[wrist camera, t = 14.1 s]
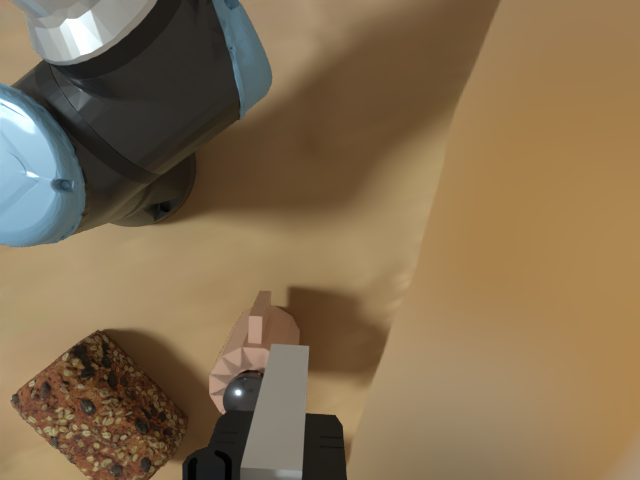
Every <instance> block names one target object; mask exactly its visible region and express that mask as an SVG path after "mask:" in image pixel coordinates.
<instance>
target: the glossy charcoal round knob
mask: <svg viewBox="0 0 640 480" xmlns="http://www.w3.org/2000/svg"><path fill="white" fill-rule="evenodd" d="M262 380H263V376H262V372H260V371H258V370H250V373H242V374H239V375H237V376H235V377H234V378H232V379H231V380H230V382H229V383H228V385H227V387H226V390H225V392H224V395H223V406H224V409H225V411H228V410H240V411H255V408H256V404H257V400H258V396H259V392H260V388H261V384H262Z"/></svg>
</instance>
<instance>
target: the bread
mask: <svg viewBox="0 0 640 480" xmlns="http://www.w3.org/2000/svg"><path fill="white" fill-rule="evenodd" d="M11 404H12V406H13V407H14V409H15V410H16V411H17V412H18V413H19V415H20V416H21V417H22V419H23V420H24V421H25V422H26V423H29V424H30V425H31V426H32V427H33V428H34V430H35V431H36V432H37V433H39V435H40V436H41V437H43V438H45V440H46V441H48V443H49V444H50V445H51V446H52V447H54V448H56V449H58V450H59V451H60V453H61V454H62V455H64V456H65V457H66V458H67V459H68V460H69V461H70V462H71V463H73V464H75V465H76V466H77V467H78V469H79V470H80V471H81V472H82V473H83V474H84V475H85V476H86V477H87V478H88V479H90V480H149V479H150V478H151V477H152V476H153V475H154V474H155V473H156V471H158V470H159V469H160V467H162V466H165V465H166V463H167V461H168V460H170V459H171V458H172V457H173V456H174V455H175V453H176V452H177V450H178V447H179V446H180V444H181V440H182V439H183V436H184V434H185V433H186V430H187V424H188V419H187V416H186V415H185V414H184V413H183V412H182V411H180V410H179V408H178V407H177V406H176V405H175V404H174V403H173V402H172V400H171V399H170V398H169V397H167V396H165V393H164V392H163V391H162V389H161V388H160V387H158V386H156V385H155V383H154V382H152V380H151V379H150V378H149V377H148V376H147V375H146V373H145V372H144V371H142V370H141V369H140V368H139V366H138V365H136V364H133V362H132V360H131V358H130V357H129V356H128V355H127V354H126V353H125V352H124V351H123V350H122V349H121V348H120V347H119V346H117V345H116V344H115V342H114V341H112V340H111V339H108V338H107V337H106V336H105V334H104V333H103V332H101V331H99V330H97V331H95V332H94V333H92V334H91V335H89V336H87V337H86V338H84V339H83V340H81V341H80V342H78V343H77V344H76V345H74V346H73V347H72V348H70V349H69V350H68V351H66V352H65V353H64V354H62V355H61V356H60V357H59V358H58V359H56V360H55V361H54V362H53V363H52V364H50V365H49V366H48V367H46V368H45V369H44V370H43V371H41V372H40V373H39V374H37V375H36V376H35V377H34V378H33V379H31V380H30V381H29V382H27V383H26V384H25V385H24V386H22V387H21V388H20V389H19V390H18V391H17V393H16V394H14V395H13V396H12V400H11Z"/></svg>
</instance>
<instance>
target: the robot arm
mask: <svg viewBox="0 0 640 480" xmlns="http://www.w3.org/2000/svg"><path fill="white" fill-rule="evenodd" d="M9 1H10V2H12V3H13V4H14V5H15V6H17V7H18V8H19V9H20V10H21V11H23V13H24V15H25V18H26V23H27V28H28V33H29V38H30V42H31V45H32V47H33V50H34V51H35V52H36V53H37V54H38V55H39V56H40V57H41V58H42V59H43V61H41V62H40V63H39V64H38V65H36V66H35V67H34V68H33V69H32V70H30V71H29V72H28V73H27V74H25V75H24V76H23V77H22V78H21V79H19V80H18V81H17V82H16V83H14V84H13V85H11V86H8V85H6V84H1V83H0V244H1V245H8V246H10V247H30V246H36V245H41V244H50V243H57V242H59V241H60V240H64V239H66V238H68V237H69V236H71V235H74V234H77V233H80V232H83V231H86V230H89V229H92V228H95V227H98V226H101V225H104V224H106V223H111V224H115V225H119V226H126V227H139V226H146V225H150V224H153V223H156V222H158V221H161V220H163V219H165V218H167V217H169V216H170V215H172V214H173V213H175V212H176V211H177V210H178V209H179V208H180V207H181V206H182V205H183V204H184V202H185V201H186V199H187V198H188V196H189V194H190V192H191V190H192V187H193V184H194V180H195V173H196V162H195V155H194V151H196V150H197V149H198V148H200V147H201V146H203V145H204V144H205V143H207V142H208V141H209V140H211V139H212V138H213V137H215V136H216V135H218V134H219V133H220V132H222V131H223V130H224V129H226V128H227V127H229V126H230V125H231V124H233V123H234V122H235V121H237V120H241V119H242V117H244V115H245V113H246V112H247V111H248V110H249V109H250V108H251V107H252V106H254V105H255V104H256V103H257V102H258V101H260V100H261V99H262V98H263V97H264V96H265V95H266V94H267V92H268V91H269V88H270V86H271V84H272V71H271V67H270V64H269V61H268V58H267V55H266V53H265V51H264V48H263V46H262V44H261V41H260V39H259V37H258V35H257V33H256V31H255V29H254V27H253V25H252V23H251V21H250V19H249V17H248V15H247V13H246V11H245V9H244V7H243V6H242V4H241V3H240V2H239V1H238V0H9ZM308 359H309V346H301V345H285V344H271V348H270V352H269V356H268V360H267V364H266V368H265V372H264V376H263V380H262V384H261V388H260V392H259V396H258V400H257V404H256V408H255V411H240V410H228V411H226V412H225V413H224V414H223V415H222V416H221V417H220V418H219V419H218V421H217V424H216V426H215V429H214V433H213V434H212V437H211V439H210V443H209V445H208V447H206V448H203V449H200V450H197V451H195V452H194V453H192V454H191V455H189V456H188V457H187V458H186V460H185V461H184V463H183V464H182V470H183V480H347V476H346V463H345V450H344V440H343V426H342V424H341V423H340V421H339V420H338V418H337V417H336V415H325V414H309V413H306V395H307V377H308Z"/></svg>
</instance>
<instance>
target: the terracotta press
mask: <svg viewBox="0 0 640 480" xmlns="http://www.w3.org/2000/svg"><path fill="white" fill-rule="evenodd" d="M271 344H285V345H299V344H300V330H299V328H298V326H297V324H296V322H295V320H294V319H293V317H292V316H291V315H290V314H288V313H287V312H285V311H283V310H282V309H280V308H279V307H277V306H271V291H260V292H259V294H258V296H257V298H256V301H255V303H254V305H253V308H252V309H250V310H248V311H245V312H243V313H242V314H241V316H240V317H239V319H238V320H237V322H236V323H235V325H234V327H233V328H232V330H231V332H230V334H229V336H228V338H227V340H226V342H225V344H224V346H223V348H222V350H221V352H220V354H219V356H218V358H217V360H216V362H215V364H214V366H213V368H212V370H211V372H210V374H209V375H210V385H209V395H210V397H211V398H212V400H213V401H214V403H215V405H216V406H217V408H218V410H219V411H220V413H222V414H224V413H225V412H226V411H225V409H224V406H223V395H224V392H225V390H226V387H227V385H228V383H229V382H230V380H231V379H232V378H234V377H235V376H237V375H239V374H242V373H250V370H258V371H260V372H262V376H264V372H265V368H266V364H267V360H268V356H269V352H270V348H271Z"/></svg>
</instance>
